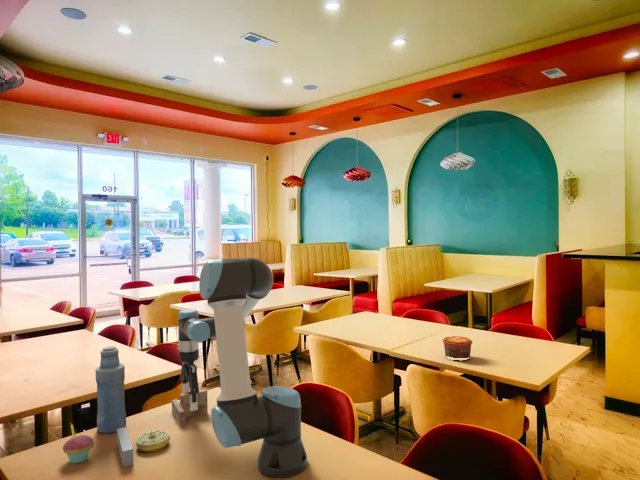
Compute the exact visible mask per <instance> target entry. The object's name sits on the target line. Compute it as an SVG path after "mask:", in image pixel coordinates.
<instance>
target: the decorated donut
mask: <svg viewBox="0 0 640 480" xmlns="http://www.w3.org/2000/svg"><path fill="white" fill-rule="evenodd" d="M170 439H171V436H170V433H168V432H166V431H164V430H152V431H151V430H150V431H147V432H144V433H143V434H141V435H140V436H138V437H137V439H136V443H135V445H136V447H137V449H138V450H139V451H140V452H144V453H154V452H159V451H161V450H162V449H164V448H165V447H167V446H168V445H169V442H170Z"/></svg>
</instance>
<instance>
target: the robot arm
mask: <svg viewBox="0 0 640 480" xmlns="http://www.w3.org/2000/svg"><path fill="white" fill-rule="evenodd" d="M273 286H274V276H273V272H272V271H271V268H270V267H269V265H267V263H265V262H264V261H263V260H262V259H259V258H256V257H239V258H238V257H237V258H233V257H232V258H217V259H211V260H207V261H206V262H205V263H204V264H203V266H202V268H201V271H200V275H199V287H198V289H199V293H200V297H201V298H202V299H204V300H207V306H208V307H209V308H210V309H212V310H213V317H207V318H206V317H205V318H199V317H200V316H199V312H198V310H197V309H183V310H180V311H179V312H178V313H177V314H178V316H177V326H178V328H177V329H178V330H177V332H178V341H177V342H178V343H177V344H178V350H179V351H178V361H180V362H181V370H180V378H179V379H180V381H181V383H182V384H181V392H182V393H185V392H190V393H189V395H190V411H194V410H198V403H197V393H199V390H200V389H199V388H200V387H199V379H198V372H197V371H198V369H197V368H198V366H197V365H196V364H195V361H197V360H199V358H200V353H199V352H200V351H199V343H202V342H205V341H206V340H208V339H212V338H213V339H214V338H215V339H216V341H215V342H216V349H217V360H218V371H219V380H220V390H221V391H220V394H219V395H218V397H216V405H215V406H213V407H212V408H211V409H210V410H211V411H210V413H211V415H210V420H211V425H212V430H213V433H214V434H215V435H214V436H215V437H216V439H217V441H218V442H219V444H220V445H221V446H222V447H224V448H227V449H229V448H233V447H240V446H242V445H245V444H248V443H252V442H255V441H259V440H262V443H261V446H260V450H259V453H258V456H257V468H258V471H259V472H260V473H261V474H262V475H265V476H267V477H270V478H274V479H275V478H277V479H278V478H279V479H281V478H283V479H284V478H290V477H294V476H296V475H299V474H300V473H302V472H304V470H305V469H306V467H307V466H308V455H307V452H306V448H305V446H304V443H303V440H302V423H301V422H302V418H301V417H302V416H301V415H302V414H301V413H302V409H301V408H302V403H301V402H302V401H301V395H300V393H299V392H298V391H297V390H296V389H293V388H290V387H286V386H281V385H276V386H273V385H272V386H267V387H265V388H263V389H262V392H261V395H260V396H258V395H257V391H256V390H255V389H253V388H252V386H251V375H250V367H249V366H250V365H249V357H248V349H247V340H246V329H245V328H246V321H245V320H246V319H247V317H248V316H249V315H250V313H252V311H253V310H254V308H255V307H256V306H257V304H258V303H259V301H260V300H263V299H265V298H266V297H267V296H268V295H269V293H270V292H271V291H272V287H273Z"/></svg>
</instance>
